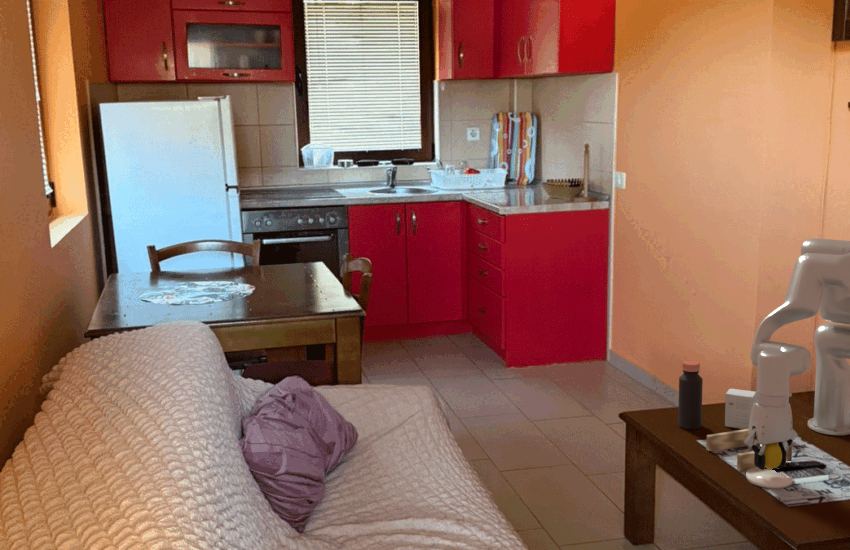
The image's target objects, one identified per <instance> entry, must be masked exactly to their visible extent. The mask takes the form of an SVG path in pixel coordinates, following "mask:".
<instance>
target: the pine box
mask: <svg viewBox="0 0 850 550" xmlns="http://www.w3.org/2000/svg"><path fill="white" fill-rule="evenodd" d="M748 432H749V429H739V430H732V431H725V432H717V433H711V434H707V435H706V446H705V447H706V448H705V450H706V451H707V450H708V451H711V452H716V451H715V450H717V451H722V450H723V449H724V450H728V449H735V448H741V447H742V448H743V447H748V446H747V445H746V444H745V443H744V440H745V439H746V438H747V436H748ZM755 440H756V439H754V440H753V444H754V443H755ZM758 448H760V444H759V447H758ZM724 450H723V451H724ZM708 451H707V452H708ZM736 455H737V457H736V458H737V459H736V471H738V472H744V471H746V472H747V470H749V469H751V468H754V467H756V466H755V464H754V455H755V452H754V451H746V452H740V453H736ZM792 460H793V446H791V445H790V446H789V450H788V451H786V461H792ZM792 462H793V461H792Z"/></svg>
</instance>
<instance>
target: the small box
mask: <svg viewBox="0 0 850 550" xmlns="http://www.w3.org/2000/svg"><path fill="white" fill-rule="evenodd" d="M756 398H757V391H753V390H747V389H746V390H745V389H744V390H743V389H737V388H729V389H728V390H727V392H726V393H725V400H724V401H725V402H724V403H725V404H724V426H725V427H727V428H734V429H739V430H743V429H749V421H750V415H751V410H752V407H753V404H754V403H756Z"/></svg>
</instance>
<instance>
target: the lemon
mask: <svg viewBox="0 0 850 550" xmlns="http://www.w3.org/2000/svg"><path fill="white" fill-rule="evenodd" d="M763 455H765V467H766V468H767V469H768V470H772V469H773V468H778V467H779V466H781V465H780V463H781V461H782V451H781V448H780V446H779V445H778V444H777V443H771V444H766V446H765V449H764V452H763Z"/></svg>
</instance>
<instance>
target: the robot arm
mask: <svg viewBox="0 0 850 550" xmlns="http://www.w3.org/2000/svg"><path fill="white" fill-rule="evenodd" d="M818 313H819V315H820V317H821V318H822V319H823V320H824V321H826V322H827V323H823V324H820V325H819V326H817V327H816V329H815V331H814V336H813V345H814V351H815V367H816V368H815V384H814V385H815V387H814V405H813V406H814V407H813V417H812V418H809V419H808V420H807V427H808V428H809V429H810V430H812V431H814V432H817V433H820V434H824V435H828V436H829V435H830V436H846V435H847V436H848V435H850V364H849V362H848V360H850V240H843V239H842V240H841V239H828V238H808V239H805V241H803V242H802V243H801V245H800V255H799V256H798V257H797V258H796V260H795V263H794V266H793V269H792V273H791V276H790V280H789V282H788V287H787V290H786V293H785V296H784V301H783V302H782V303H781V305H780V306H777V308H775V309H774V310H772V311H771V312H770V313H768V315H766V317H765V318H763V320H762V321H761V322H760V324H759V325H758V327H757V328H756V332H755V333H754V334H755V335H754V338H753V340H752V341H753V342H752V344H751V348H750V354H749V355H750V361H751V363H752V365H753V366H755V367H756V368H757V371H756V373H757V374H756V403H754V404H753V407H752V410H751V415H750V421H749V432H748V436H747V438H746V439H745V440H744V443H745V444H746V445H747V446H746V447H749V449H750V450H752V451H754V452H755V455H754V464H755V466H756V467H758V468H759V469H761V470H764V469H765V455H763V452H764V449H765V446H766V444H771V443H777V444H778V445H779V446H780V448H781V451H782V461H781V463H780V465H779V466H782V467H786V465H787V464H786V451H788V450H789V446H791V445H792V444H793V441H795V440H796V438H797V437H798V435H799V434H798V432H797V431H795V429H794V428H793V413H792V408H791V403H790V402H789V401H790V398H791V397H792V396H793V394H792V392H791V391H790V378H791V377H795V376H800V375H802V374H804V373H805V372H807V371H808V369H809V368H810V367H811V365H812V355H811V352H810V350H809V349H807V348H806V347H804V346H803V345H798V344H797V345H796V344H791V343H787V342H786V343H785V342H779V341H774V340H773V341H772V340H771V338H772V336H773V335H774V333H775V332H776V331H777V330H779V329H780V328H783V326H785V325H788V324H792V323H796V322H799V321H802V320H806V319H809V318H813V317H814V316H816V315H817V314H818ZM828 322H829V323H828ZM754 439H756V440H755V443H754V444H753V440H754ZM759 444H760V447H759Z"/></svg>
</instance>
